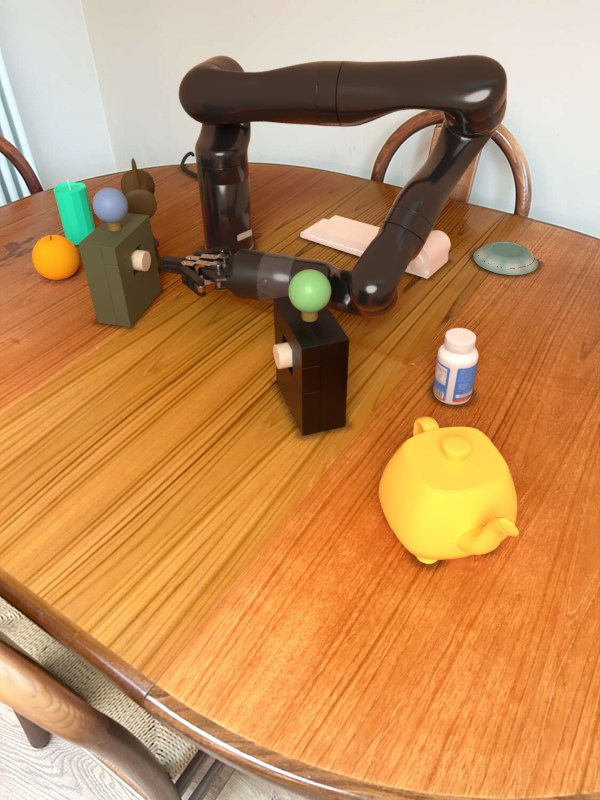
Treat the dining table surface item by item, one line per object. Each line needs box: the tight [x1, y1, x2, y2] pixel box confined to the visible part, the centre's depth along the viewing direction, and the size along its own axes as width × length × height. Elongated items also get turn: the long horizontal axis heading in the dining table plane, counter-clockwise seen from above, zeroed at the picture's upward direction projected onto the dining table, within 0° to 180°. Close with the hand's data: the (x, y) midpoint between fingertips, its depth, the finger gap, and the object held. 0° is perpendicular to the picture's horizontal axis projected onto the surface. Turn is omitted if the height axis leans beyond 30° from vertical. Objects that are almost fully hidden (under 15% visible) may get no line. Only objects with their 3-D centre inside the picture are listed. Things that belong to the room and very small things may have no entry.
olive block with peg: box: [78, 186, 162, 328], centre depth 104 cm, size 6×12×20 cm, turn 165°
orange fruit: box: [31, 234, 81, 281], centre depth 117 cm, size 8×8×8 cm
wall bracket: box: [300, 214, 451, 280], centre depth 124 cm, size 10×7×28 cm
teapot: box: [378, 416, 520, 565], centre depth 69 cm, size 14×20×13 cm
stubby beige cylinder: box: [272, 342, 292, 369], centre depth 84 cm, size 2×3×3 cm
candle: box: [53, 178, 96, 246], centre depth 127 cm, size 6×6×12 cm
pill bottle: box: [432, 327, 479, 406], centre depth 89 cm, size 6×5×10 cm
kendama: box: [120, 157, 163, 270], centre depth 115 cm, size 6×10×20 cm, turn 13°
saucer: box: [472, 240, 539, 276], centre depth 122 cm, size 12×12×2 cm
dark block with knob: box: [273, 269, 350, 437], centre depth 84 cm, size 6×12×20 cm, turn 18°
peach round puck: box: [130, 250, 151, 271], centre depth 104 cm, size 2×3×3 cm
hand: (162, 263), depth 104 cm, fingers closed
